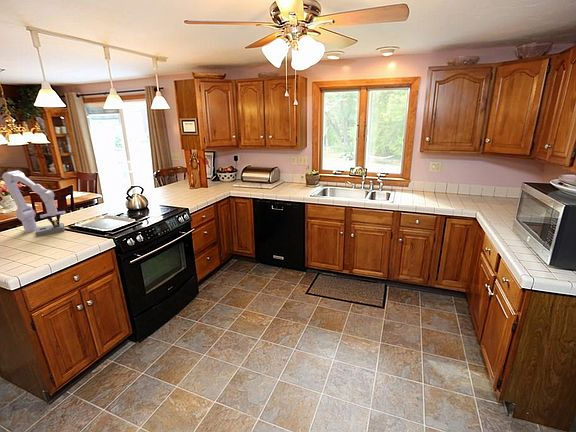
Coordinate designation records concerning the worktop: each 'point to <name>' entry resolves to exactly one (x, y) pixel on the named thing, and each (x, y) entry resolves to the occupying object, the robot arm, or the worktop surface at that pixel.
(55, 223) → the brass pin
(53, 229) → the bore block
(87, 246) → the worktop surface
